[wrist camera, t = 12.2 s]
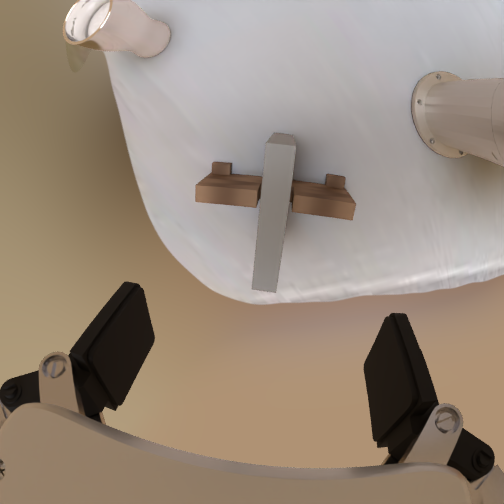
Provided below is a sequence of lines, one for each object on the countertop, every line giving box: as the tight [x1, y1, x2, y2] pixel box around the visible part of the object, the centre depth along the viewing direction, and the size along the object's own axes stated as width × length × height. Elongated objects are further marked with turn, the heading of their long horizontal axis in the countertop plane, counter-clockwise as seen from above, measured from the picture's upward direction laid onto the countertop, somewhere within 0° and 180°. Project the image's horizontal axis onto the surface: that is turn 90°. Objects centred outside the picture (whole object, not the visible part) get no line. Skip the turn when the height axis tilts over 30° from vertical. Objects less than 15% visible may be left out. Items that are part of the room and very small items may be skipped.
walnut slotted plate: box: [195, 162, 356, 220], centre depth 33 cm, size 18×5×7 cm, turn 86°
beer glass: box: [63, 0, 171, 58], centre depth 21 cm, size 7×7×15 cm
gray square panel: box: [252, 133, 296, 293], centre depth 30 cm, size 2×14×14 cm, turn 175°
